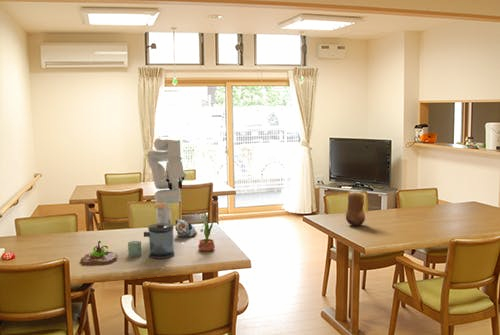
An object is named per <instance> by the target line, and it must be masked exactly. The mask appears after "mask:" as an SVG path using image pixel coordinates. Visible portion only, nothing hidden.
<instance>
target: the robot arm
mask: <svg viewBox="0 0 500 335" xmlns="http://www.w3.org/2000/svg"><path fill="white" fill-rule="evenodd" d="M153 146H154V148H155V149H151V150H149V151H148V152H147V154H146V155H147V156H146V157H147V163H148V166H149V167H150V169H151V171H152V176H153V184H154V187H155V189H157V191H155V193H154V201H155V204H156V203H166V208H163V216H158V208H155V210H156V224H159V223H168V224H172V210H171V208H170V207H169V205H170V204H178V203H180V202H181V201H182V194H181V189H182V187H183V181H184V180H185V178H186V177H187V174H186V172H184V166H183V161H181V160H183V156H182V155H181V140H180V139H179V138H177V137H172V136H170V137H169V136H168V137H166V136H164V137H157V138H155V140H154V142H153ZM159 162H161V163H162V162H166V166H165V167H164V166H163V165H162V164H161V163H159ZM174 236H175V234H174V233H173V237H174Z"/></svg>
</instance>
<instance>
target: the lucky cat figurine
mask: <svg viewBox="0 0 500 335" xmlns="http://www.w3.org/2000/svg"><path fill="white" fill-rule="evenodd" d="M175 231H176V233H177V236H178V237H192V238H194V237H196V236H197V235H198V232H197V231H196V229H195V226H194V225H193V224H192V223H191V222H187V221H186V220H184V219H180V218H177V219H175ZM195 235H196V236H195Z"/></svg>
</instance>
